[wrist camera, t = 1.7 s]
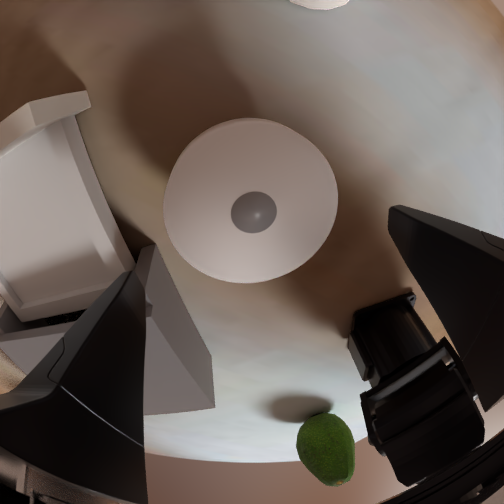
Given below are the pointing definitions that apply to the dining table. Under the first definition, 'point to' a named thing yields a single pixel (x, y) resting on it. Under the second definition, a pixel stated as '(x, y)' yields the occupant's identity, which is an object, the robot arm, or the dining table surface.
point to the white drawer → (53, 213)
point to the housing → (156, 351)
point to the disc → (249, 201)
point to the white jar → (320, 3)
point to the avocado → (327, 449)
